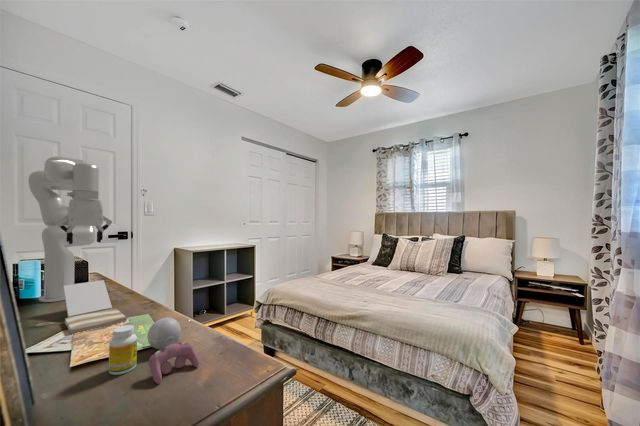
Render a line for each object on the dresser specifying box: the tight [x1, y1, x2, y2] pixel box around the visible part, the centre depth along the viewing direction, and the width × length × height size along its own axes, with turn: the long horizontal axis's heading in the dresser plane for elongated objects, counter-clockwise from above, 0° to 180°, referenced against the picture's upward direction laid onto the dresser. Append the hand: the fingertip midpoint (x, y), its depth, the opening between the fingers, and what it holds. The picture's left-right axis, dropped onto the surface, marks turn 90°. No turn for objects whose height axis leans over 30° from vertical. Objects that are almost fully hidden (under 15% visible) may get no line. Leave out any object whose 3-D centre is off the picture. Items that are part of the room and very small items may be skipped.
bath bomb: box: [147, 317, 182, 350], centre depth 75 cm, size 8×8×8 cm
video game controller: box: [148, 341, 200, 385], centre depth 64 cm, size 10×5×7 cm, turn 141°
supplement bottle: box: [108, 324, 138, 376], centre depth 65 cm, size 5×5×10 cm
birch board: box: [64, 307, 128, 336], centre depth 92 cm, size 14×14×2 cm
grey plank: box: [63, 279, 113, 318], centre depth 102 cm, size 16×12×2 cm
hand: (85, 242), depth 104 cm, fingers open, 7 cm apart
